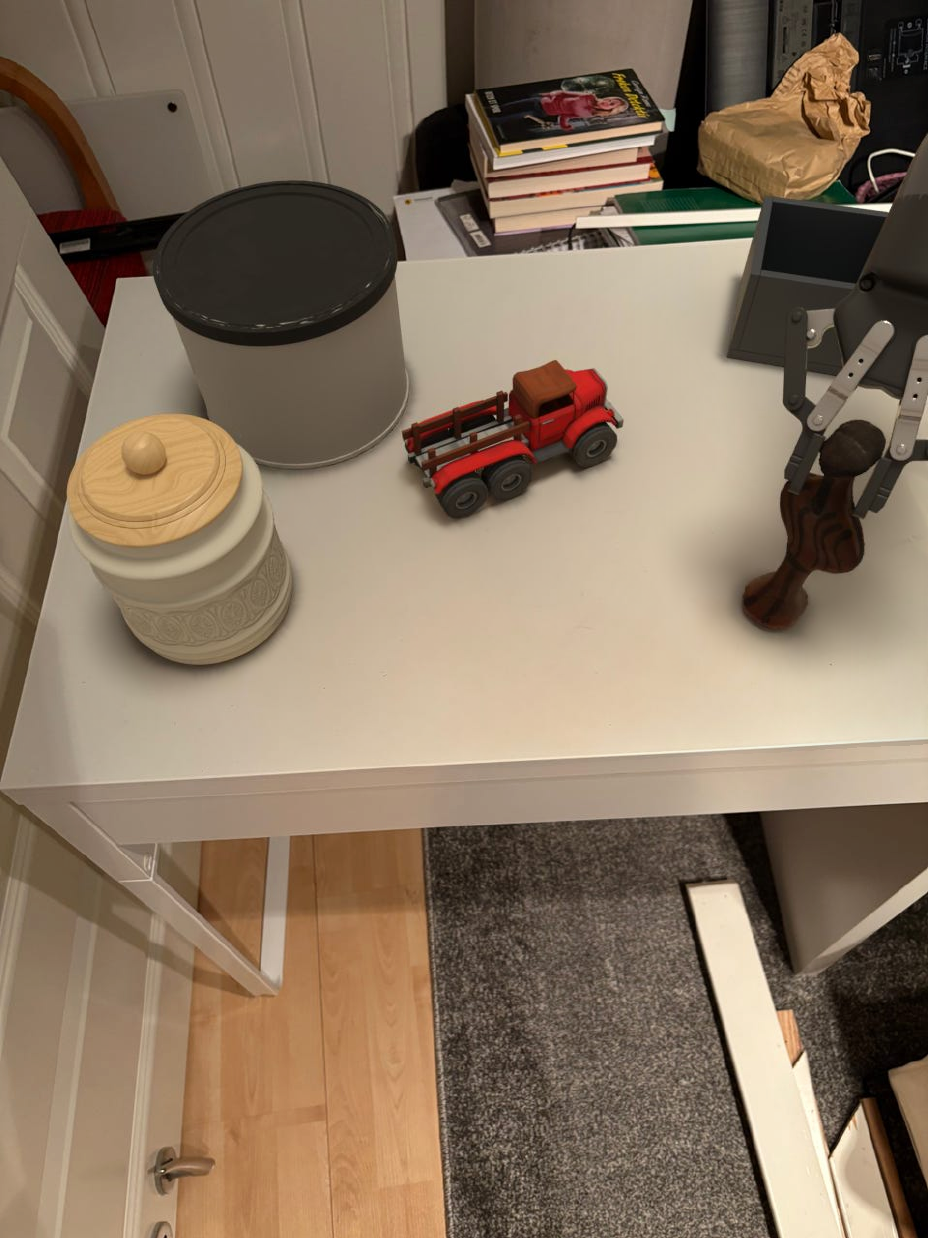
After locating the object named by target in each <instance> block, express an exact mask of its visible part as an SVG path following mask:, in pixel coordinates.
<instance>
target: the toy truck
mask: <svg viewBox="0 0 928 1238" xmlns="http://www.w3.org/2000/svg"><path fill="white" fill-rule="evenodd" d="M608 391H609V385H608V383H607V381H606V379H605V378H604V377H603V376H602V375H601V373H600V372H599V370H597V368H587V369H578V370H571V369H566V368H564V367H563V366H562V364H561V363H560V362H559V361H558V360H557V359H553V360H551V361H549V362H547V363H545V364H543V365H540V366H537V367H535V368H532V369H531V368H530V369H528V370H522V371H517V372H516V373H515V374H513V377H512V389H511V390H510V391H509V393H508V392H507V391H505V392H504V391H503V390H499V391H497V392H496V393H495V394H496V395H494V396H491V397H489V398H485V399H481V400H476V401H472V402H470V403H467V404H464V405H462V406H456V407H453V408H452V409H450V410H448V411H445V412H442V413H440V414H437V415H435V416H432V417H430V418H426V419H424V420H422V421H421V422H418V421H416V422H414V423H411V424H410V426H411V427H408V428H406V429H403V430H401V437H402V440H403V443H404V448H405V450H406V453H407V462H408V463H409V465H413V464H414V465H415V466H416V467H418V468H419V469H420V470H421V471H422V473H423V475H424V478H422V485H423V487H424V489H425V490H427V489H430V488H432V489H433V490H434V493H435V499H436V500H437V502H438V504H439V505H440V507H441V509H442V511H443V512H444V514H445V515H446V516H447V517H449V518H450V519H457V520H459V519H463V518H466V517H469V516H471V515H473V514H475V513H476V512H477V511H478V510H479V509H481V508H482V507H483V505H484V504H485V503H486V501H487V499H488V496H489V495H490V497H491V498H493V500H495V501H501V502H505V501H508V500H512V499H514V498H516V497H518V496H520V495H521V494H522V493H523V492H524V491H526V490H527V488H528V487H529V485H531V482H532V481H533V477H534V473H533V469H532V467H531V465H533V466H536V465H540V464H542V463H544V462H547V461H550V460H552V459H555V458H557V457H559V456H563V455H565V454H567V453H569V454H570V455H571V457H572V458H573V459H574V460H575V462H576V464H578V465H579V466H580V467H583V468H584V467H585V468H589V467H593V466H596V465H598V464H599V463H601V462H603V461H604V460H606V458H608V457H609V456H610V455H611V454H612V452H614V449H615V448H616V446H617V444H618V434H617V433H616V432H615V430H614V429H612V427H611V426H610V424H612V426H613V427H615V429H616V430H618V429H621V428H623V426H624V418H623V417H622V415H621V414H620V413H619V412H618V411H617V409H616V408H615V407H614V406H613V405H612V403H611V402H610V401H609V400H608V397H607V395H608ZM505 403H508V407H506V408H505ZM495 416H496V417H495ZM608 423H610V424H608ZM524 457H526V458H527V459H528V461H529V462H530V463H531V465H529V463H528V461H527V460H526V458H524ZM480 470H481V474H480V475H479V473H478V472H477V471H480Z"/></svg>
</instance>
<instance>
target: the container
mask: <svg viewBox="0 0 928 1238" xmlns="http://www.w3.org/2000/svg"><path fill="white" fill-rule="evenodd" d="M397 247H398V246H397V238H396V233H395V230H394V228H393V226H392V222H391V220H389V218H388V217H387V215H386V213H385V212H384V211H383V210H382V209H381V208H380V207H378V206H377V205H376V204H375V203H374V202H373V201H371V200H370V199H368V198H367V197H365V196H363V195H361V194H360V193H358V192H355V191H353V190H351V189H348V188H345V187H342V186H338V185H335V184H331V183H325V182H321V181H312V180H295V179H293V180H292V179H289V180H288V179H286V180H273V181H265V182H264V181H263V182H259V183H253V184H249V185H246V186H241V187H237V188H233V189H230V190H228V191H225V192H222V193H220V194H217V195H215V196H213V197H211V198H208V199H206V200H205V201H203V202H201V203H199V204H198V205H196V206H195V207H193V208H191V209H190V210H189V211H187V212H186V213H184V214H182V216H180V217H179V218H177V220H176V221H175V222H174V223H172V225H170V227H169V228H168V230H167V231H166V232H165V233H164V235H163V236H162V238H161V239H160V241H159V243H158V245H157V247H156V249H155V252H154V255H153V260H152V276H153V280H154V281H153V282H154V284H155V287H156V289H157V293H158V295H159V298H160V299H161V302H162V304H163V306H164V308H165V309H166V311H167V312H168V313H169V314H170V315H171V317H172V319H173V321H174V325H175V327H176V330H177V332H178V335H179V337H180V340H181V342H182V346H183V348H184V351H185V353H186V356H187V359H188V361H189V364H190V367H191V368H192V373H193V375H194V377H195V380H196V383H197V385H198V388H199V390H200V394H201V395H202V398H203V401H204V404H205V407H206V413H207V417H208V421H211V422H213V423H215V424H216V425H218V426H220V427H221V428H222V429H224V430H225V431H226V432H227V433H228V434H229V435H230V436H231V437H232V439H233V440H234V441H235V443H237V444H238V445H240V446H241V447H242V448H243V449H245V450H246V451H247V452H248V453H249V454H250V456H251V457H252V458H253V459H254V461H255V462H256V464H259V465H262V466H266V467H270V468H271V467H272V468H277V469H284V470H285V469H286V470H287V469H289V470H303V469H304V470H305V469H314V468H315V469H316V468H322V467H327V466H331V465H334V464H339V463H341V462H344V461H346V460H349V459H352V458H354V457H356V456H358V455H360V454H362V453H364V452H366V451H368V450H369V449H371V448H372V447H374V446H375V445H377V444H378V443H380V442H381V441H382V440H383V439H384V438H385V437H386V436H387V435H389V433H390V432H391V431H392V430H393V429H395V426H396V425H397V424H398V422H399V421H400V419H401V418H402V416H403V414H404V412H405V410H406V408H407V405H408V404H407V403H408V400H409V396H410V383H409V382H410V381H409V374H408V371H407V368H406V363H405V354H404V352H405V351H404V345H403V336H402V325H401V316H400V308H399V307H400V306H399V299H398V297H399V296H398V288H397V280H396V273H397V270H398V269H397V268H398V248H397Z"/></svg>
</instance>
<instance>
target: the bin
mask: <svg viewBox="0 0 928 1238" xmlns="http://www.w3.org/2000/svg"><path fill="white" fill-rule="evenodd" d="M888 213H889V211H884V210H876V209H868V208H862V207H854V206H847V205H846V206H845V205H839V204H832V203H824V202H817V201H809V200H803V199H796V198H795V199H794V198H787V197H782V196H781V197H780V196H772V195H764V197H763V200H762V203H761V207H760V211H759V214H758V217H757V221H756V225H755V229H754V231H753V232H754V233H753V236H752V240H751V244H750V247H749V251H748V254H747V258H746V261H745V265H744V268H743V273H742V276H741V280H740V285H739V290H738V295H737V301H736V306H735V311H734V316H733V322H732V327H731V332H730V337H729V343H728V349H727V354H726V358H731V359H736V360H742V361H747V362H748V361H749V362H754V363H760V364H765V365H771V366H772V365H773V366H777V367H783V368H784V355H785V330H786V315H787V313H788V311H789V310H790V309H792V308H794V307H802V308H804V309H805V310H806V311H810V310H822V309H835V308H836V306H837V305H838V303H839V302H840V301H841V300H842V299H844V298H845V297H846V296H847V295H848V294H849V293H850V292H851V291H852V290H853V288H854V287H855V285H856V283H857V281H858V279H859V277H860V275H861V272H862V270H863V268H864V266H865V264H866V261H867V259H868V257H869V255H870V253H871V250H872V248H873V246H874V244H875V242H876V239H877V237H878V235H879V233H880V231H881V228H882V226H883V224H884V222H885V219H886V217H887V215H888ZM842 369H843V365H842V361H841V356H840V352H839V347H838V343H837V338H836V334H835V329H834V327H831V328H828V329H827V330H826V331H825V332H824V333H823V335H822V339H821V342H820V343H819V345H817V346H816V347H814V348H808V350H807V371H808V372H812V373H813V372H814V373H821V374H826V375H833V376H837V375H838V374H839V373H840V371H841V370H842Z"/></svg>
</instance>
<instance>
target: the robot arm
mask: <svg viewBox="0 0 928 1238" xmlns="http://www.w3.org/2000/svg"><path fill="white" fill-rule="evenodd" d="M888 212H889V213H888V215H887V217H886V219H885V222H884V224H883V226H882V228H881V231H880V233H879V235H878V237H877V239H876V242H875V244H874V246H873V248H872V250H871V253H870V255H869V257H868V259H867V261H866V264H865V266H864V268H863V270H862V272H861V275H860V277H859V279H858V281H857V283H856V285H855V287H854V288H853V290H852V291H851V292H850V293H849V294H848V295H847V296H846V297H845V298H844V299H842V300H841V301H840V302H839V303H838V305H837V306H836V308H835V309H822V310H810V311H806V310H805V309H804V308H802V307H794V308H792V309H790V310H789V311H788V313H787V315H786V330H785V355H784V367H783V381H782V382H783V383H782V405H783V406H784V408H785V409H786V411H787V412H789V413H790V414H791V415H793V416H794V418H795V419H797V420H798V421H799V422H800V423H801V427H802V428H801V432H800V435H799V437H798V439H797V440H796V441H797V442H796V443H795V446H794V448H793V450H792V453H791V454H790V457H789V459H788V461H787V464H786V466H785V467H784V471H783V472H784V473H783V480H785V481H788V480H789V481H791V485H790V487H789V489H788V491H789V492H792V493H794V494H797V495H799V494H800V493H801V490H802V488H803V486H804V484H805V482H806V480H807V478H808V475H809V473H811V471H812V469H813V467H814V464H815V463H816V460H817V458H818V456H819V455H820V453H819V450H820V448H821V446H822V444H823V442H824V441H825V440H826V439H827V437H826V436H825V433H826V432H827V429H828V428H829V426H830V425H831V424H832V422H833V421H834V419H835V418H836V417H837V416H838V414H839V413H840V411H841V410H842V409H843V408H844V406H845V405H846V403H847V402H848V401H849V400H850V398H851V397H852V395H853V394H854V393H855V391H856V390H857V389H858V388H859V387H860V388H862V389H866V390H880V391H882V392H883V393H885V394H886V395H888V396H889V397H891V398H893V399H896V400H897V401H898V400H899V401H898V405H897V408H896V413H895V418H894V423H893V428H892V431H891V432H892V433H891V434H890V439H889V443H888V447H887V448H886V450H885V453H883V454H884V455H883V456H882V457H881V458H880V459H879V460H878V462H876V464H875V465H874V466H873V469H872V472H871V474H870V475H869V478H868V479H867V482H866V484H865V486H864V488H863V490H862V492H861V494H860V497H859V498H858V500H857V503H856V504H855V509H854V511H853V513H852V516H855V517H858V518H859V519H860V520H865V519H866V516H867V514H868V513H869V512H871V513H874V514H878V513H879V512H880V511H882V509H883V508H884V507H885V506H886V504H887V502H888V500H889V498H890V496H891V493H892V491H893V490H894V487H895V485H896V483H897V481H898V479H899V477H900V476H901V473H902V472H903V469H905V467H906V466H907V465H908V464H909V463H912V462H928V439H927V438H925V439H924V438H923V439H921V438H919V439H917V437H918V433H919V428H920V425H921V421H922V418H923V415H924V411H925V407H926V403H927V400H928V132H927V133H926V135H925V136H924V138H923V140H922V141H921V143H920V145H919V146H918V148H917V150H916V152H915V153H914V155H913V157H912V159H911V162H910V164H909V167H908V169H907V171H906V173H905V175H904V177H903V179H902V182H901V183H900V185H899V187H898V189H897V193H896V194H895V197H894V200H893V202H892V204H891V206H890V208H889V211H888ZM831 327H834V329H835V334H836V338H837V343H838V347H839V352H840V356H841V361H842V365H843V369H842V370H841V371H840V373H839V374H838V375H836V376H835V378H834V379H833V381H832V382H831V384H830V385H829V386H828V388H827V390H826V391H825V393H824V394H823V395H822V396H821V398H820V399H819V401H818V402H817V404H816V403H814V402H813V401H812V400H811V399H810V398H808V397H807V396H806V394H807V393H806V391H807V374H808V373H807V350H808V348H814V347H816V346H817V345H819V343H820V342H821V339H822V335H823V333H824V332H825V331H826V330H827V329H828V328H831Z"/></svg>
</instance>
